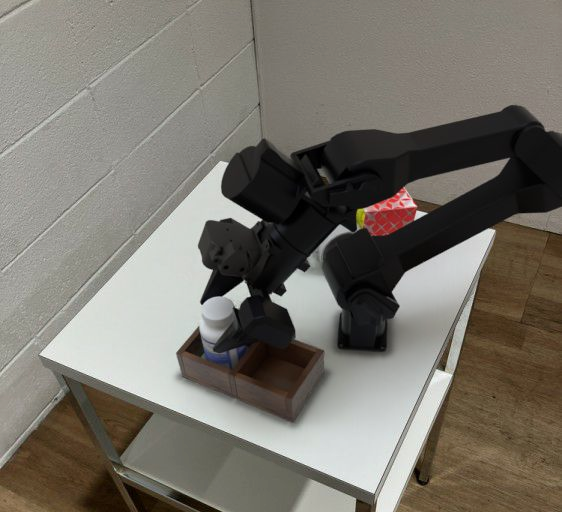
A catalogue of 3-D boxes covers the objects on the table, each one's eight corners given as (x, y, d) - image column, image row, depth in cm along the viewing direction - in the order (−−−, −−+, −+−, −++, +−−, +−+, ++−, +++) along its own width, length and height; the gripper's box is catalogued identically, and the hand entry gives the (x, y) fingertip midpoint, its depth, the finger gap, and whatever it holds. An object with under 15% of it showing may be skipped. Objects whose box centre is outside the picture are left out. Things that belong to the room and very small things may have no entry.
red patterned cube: (347, 181, 93) (365, 211, 88) (397, 176, 95) (417, 206, 90) (339, 226, 99) (356, 257, 94) (386, 221, 101) (405, 252, 96)
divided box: (324, 373, 82) (324, 350, 78) (292, 422, 77) (291, 399, 74) (217, 332, 87) (212, 309, 84) (181, 376, 83) (175, 352, 79)
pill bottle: (235, 339, 85) (227, 285, 78) (255, 364, 82) (249, 311, 75) (199, 356, 84) (187, 303, 76) (218, 383, 81) (208, 330, 73)
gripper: (219, 155, 71) (143, 253, 78) (258, 259, 59) (164, 362, 67) (290, 201, 78) (214, 287, 85) (337, 302, 67) (245, 391, 74)
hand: (209, 327), depth 78 cm, fingers open, 8 cm apart
